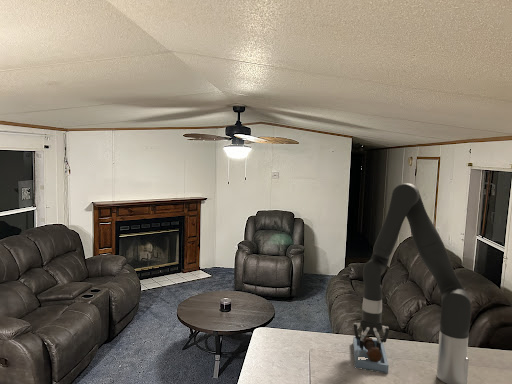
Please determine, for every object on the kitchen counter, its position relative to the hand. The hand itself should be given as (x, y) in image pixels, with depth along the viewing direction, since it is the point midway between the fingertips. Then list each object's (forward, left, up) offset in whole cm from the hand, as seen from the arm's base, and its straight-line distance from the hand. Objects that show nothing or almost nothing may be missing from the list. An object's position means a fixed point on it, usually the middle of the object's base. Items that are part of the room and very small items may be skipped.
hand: (369, 349), depth 150 cm
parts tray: (0, 0, -3) cm, 3 cm away
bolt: (0, +1, -1) cm, 1 cm away
